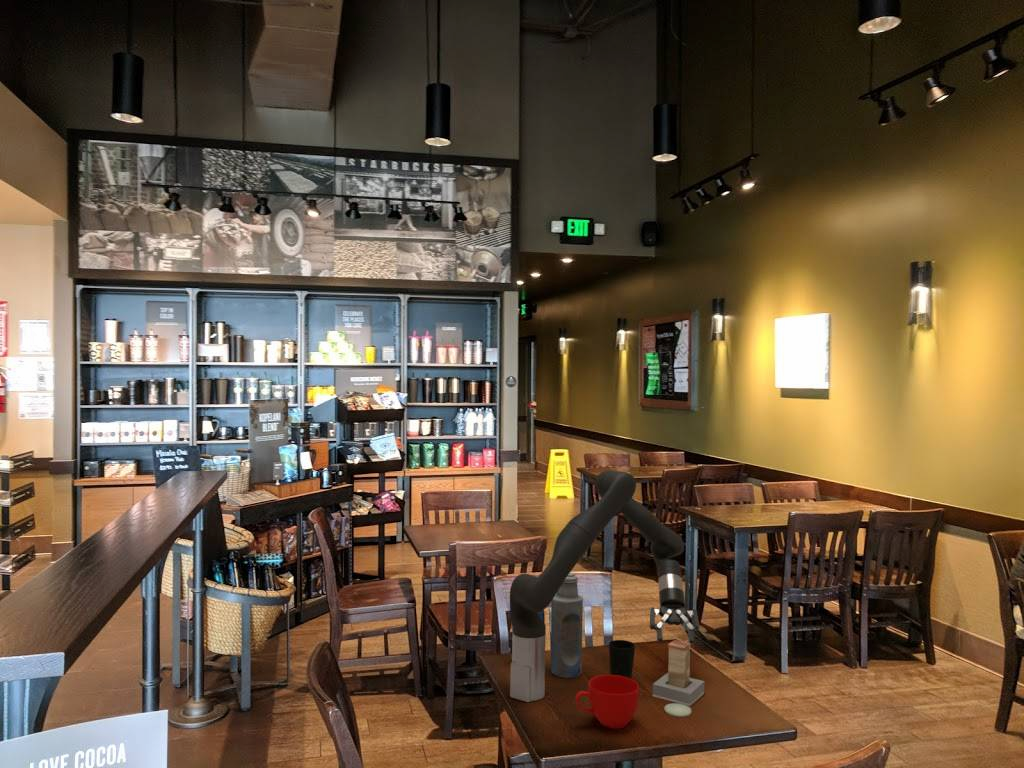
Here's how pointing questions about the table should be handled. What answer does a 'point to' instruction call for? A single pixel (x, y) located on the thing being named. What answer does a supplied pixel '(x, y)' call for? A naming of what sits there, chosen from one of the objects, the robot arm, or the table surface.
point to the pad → (677, 710)
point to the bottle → (566, 630)
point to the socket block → (678, 691)
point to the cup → (621, 657)
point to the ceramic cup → (612, 699)
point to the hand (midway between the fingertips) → (676, 642)
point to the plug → (679, 663)
